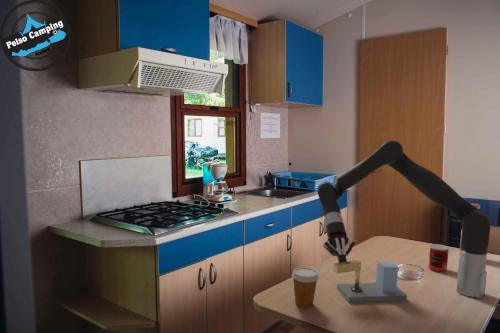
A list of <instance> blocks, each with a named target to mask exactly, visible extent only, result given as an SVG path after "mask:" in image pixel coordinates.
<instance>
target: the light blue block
mask: <svg viewBox="0 0 500 333" xmlns="http://www.w3.org/2000/svg"><path fill="white" fill-rule="evenodd" d="M376 263H377V264H376V278H375V283H376V287H377V288H378V289H379V290H380V291H381V292H396V287H398V286H397V284H398V271H399V266H397V265H396V264H395V263H394V262H393V261H377V262H376Z"/></svg>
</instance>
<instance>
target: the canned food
mask: <svg viewBox="0 0 500 333" xmlns="http://www.w3.org/2000/svg"><path fill="white" fill-rule="evenodd" d="M428 256H429V258H428V269H429V270H430V271H431V272H435V273H439V272H444V273H447V269H448V261H449V247H448V246H446V245H444V244H438V243H433V244H430V246H429V255H428Z"/></svg>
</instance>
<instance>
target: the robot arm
mask: <svg viewBox="0 0 500 333" xmlns="http://www.w3.org/2000/svg"><path fill="white" fill-rule="evenodd" d="M386 165H388V166H389V167H390V168H392V169H393V170H394V171H396V172H397V173H399V174H400V175H401V176H403V177H404V178H405V179H406V180H407V181H408V182H409V183H410V184H411V185H412V186H413V187H415V189H417V190H418V191H419V192H420V193H421V194H423V195H424V196H425V197H426V199H427V198H428V199H429V200H431V201H432V202H433V203H435V205H438V206H440V207H442V208H444V209H446V210H447V211H449V212H450V213H451V214H452V215H454V216H455V218H457V220H459V222H461V224H462V225H461V226H462V228H461V231H462V237H461V236H460V242H461V246H460V245H459V253H460V256H459V258H458V259H459V260H458V270H457V280H456V292H457V291H458V292H459V293H458V292H457V293H458V294H460V293H461V294H460V295H462V294H463V295H462V296H465V295H466V296H465V297H468V296H471V297H470V298H474V297H477V298H476V299H479V298H480V297H481V298H482V297H484V296H485V295H484V294H486V286H487V285H486V284H487V275H488V273H487V271H486V267H487V257H488V249H489V244H490V243H489V242H490V235H491V221H490V218H489V216H488V214H486V213H485V212H484V211H483V210H481V209H480V208H479V209H478V208H476V207H475V206H473V205H472V204H470V203H471V202H468V201H467V200H465V198H463V197H462V196H461V195H460V194H459V193H458V192H457V191H456V190H454V188H452V186H450V184H448V183H447V182H445V180H443V179H442V178H441V177H440V176H438V175H437V174H436V173H435V172H433V171H432V170H429V169H428V168H426V167H424V166H422V165H420V164H418V163H416V162H415V161H414V160H412V159H411V158H410V157H409V156H408V155H406V154H405V153H404V149H403V146H402V144H401V143H400V142H398V141H396V140H388V141H385V142H384V143H382V144H381V146H380V147H379V148H377V149H376V150H375V151H374V152H372V153H371V154H370V155H369V156H367V157H366V158H365V159H363V160H362V161H360V162H359V163H356V164H355V165H353V166H352V167H350V168H349V169H347V170H345V171H344V172H342V173H341V174H339V175H338V176H336V182H335V183H334V184H332V183H331V182H329V181H327V180H325V181H322V182H320V183H319V184H318V185H317V195H318V198H319V202H320V204H321V208H322V213H323V217H324V226H325V230H326V234H327V241H324V243H323V245H322V246H323V248H324V249H325V250H326V251H327V252H328V253H329V254H331V256H333V257H336V258H337V261H338V262H337V263H341V262H348V260H347V256H349V254H350V253H351V252H352V249H353V248H354V246H355V244H356V243H355V241H351V240H349V237H348V235H347V230H346V227H345V222H344V219H343V215H342V212H341V207H340V205H339V203H338V201H337V200H338V199H340V198H341V197H342V196H343V195H344V193H345V194H346V192H347V190H350V189H351V188H353V187H354V186H356V185H357V184H359V183H361V181H363V180H364V179H366V178H367V177H368V176H369V175H370V174H372V173H373V172H375V171H376V170H378V169H380V168H381V167H383V166H386ZM347 246H348V248H347V250H346V247H347ZM483 295H484V296H483ZM481 298H480V299H481Z"/></svg>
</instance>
